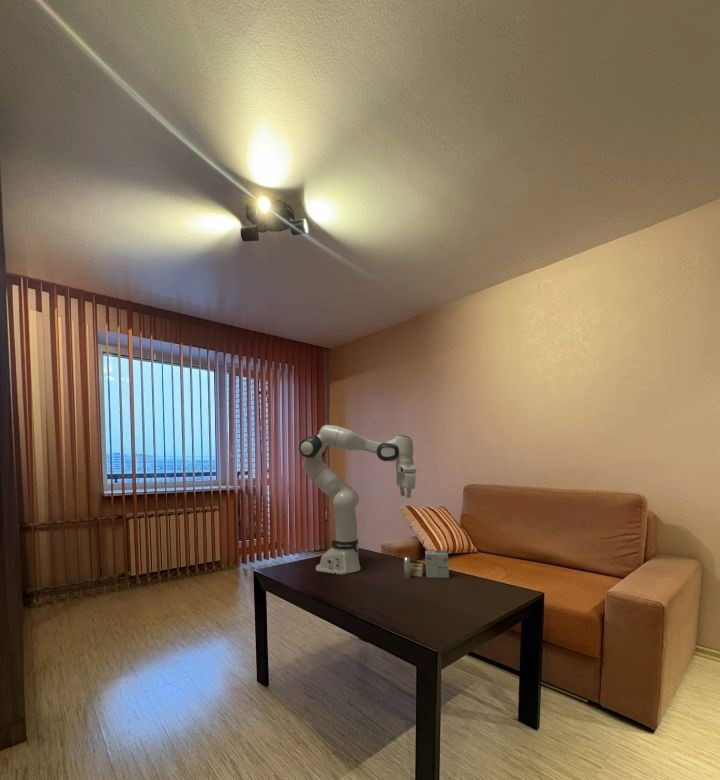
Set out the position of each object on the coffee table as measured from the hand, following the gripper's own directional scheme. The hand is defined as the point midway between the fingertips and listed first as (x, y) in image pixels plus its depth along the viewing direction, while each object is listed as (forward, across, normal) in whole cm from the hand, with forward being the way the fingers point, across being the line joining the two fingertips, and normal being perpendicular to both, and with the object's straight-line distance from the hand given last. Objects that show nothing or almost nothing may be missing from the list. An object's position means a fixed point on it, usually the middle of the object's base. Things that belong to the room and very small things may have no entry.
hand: (405, 496), depth 198 cm
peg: (+36, +4, -1) cm, 36 cm away
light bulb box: (+37, +4, +14) cm, 39 cm away
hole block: (+36, -2, +4) cm, 37 cm away
